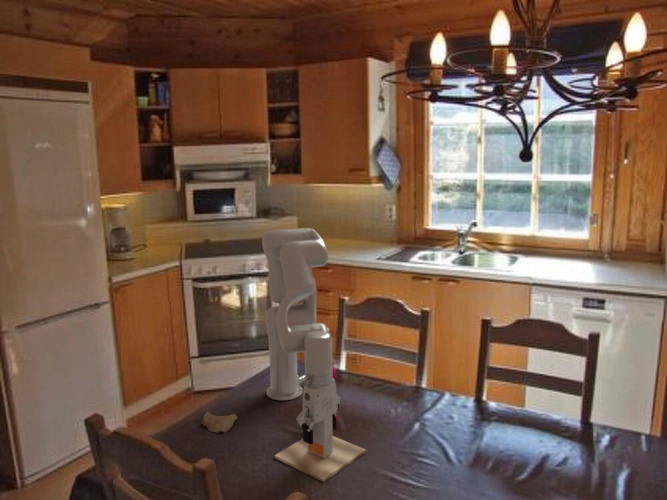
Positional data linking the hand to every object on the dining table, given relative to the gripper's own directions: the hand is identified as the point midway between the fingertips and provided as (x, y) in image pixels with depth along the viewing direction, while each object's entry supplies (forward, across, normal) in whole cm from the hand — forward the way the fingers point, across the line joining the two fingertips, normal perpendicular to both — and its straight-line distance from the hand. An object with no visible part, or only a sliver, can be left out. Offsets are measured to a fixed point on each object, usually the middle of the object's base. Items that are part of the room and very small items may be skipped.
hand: (320, 435), depth 152 cm
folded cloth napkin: (+6, 0, 0) cm, 6 cm away
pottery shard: (+7, -6, +36) cm, 38 cm away
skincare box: (+5, 0, 0) cm, 5 cm away
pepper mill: (+6, +16, +11) cm, 20 cm away
